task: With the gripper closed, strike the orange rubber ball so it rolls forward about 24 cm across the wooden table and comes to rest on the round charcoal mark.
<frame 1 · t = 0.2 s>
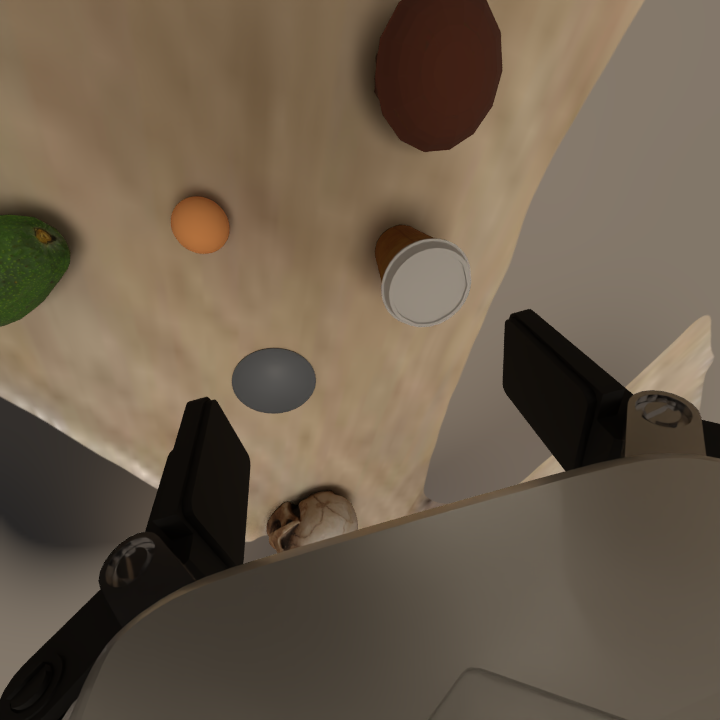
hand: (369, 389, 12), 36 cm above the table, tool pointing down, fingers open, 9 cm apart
muffin: (416, 77, 38), on the table
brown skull: (307, 510, 75), on the table
disposable coffee cup: (398, 249, 48), on the table
ball: (201, 225, 39), on the table
fruit: (18, 253, 40), on the table
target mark: (274, 382, 56), on the table
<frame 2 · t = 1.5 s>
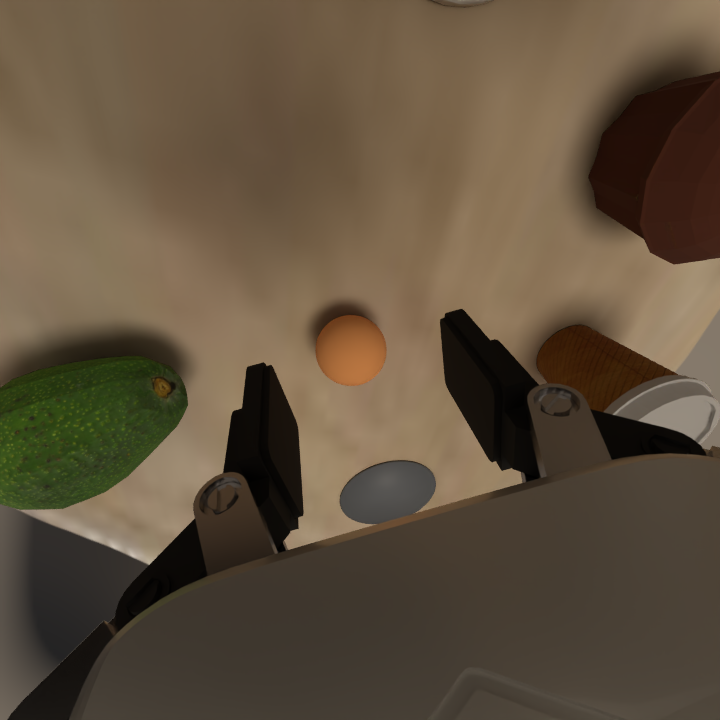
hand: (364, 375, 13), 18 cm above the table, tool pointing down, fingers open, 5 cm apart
muffin: (643, 156, 28), on the table
disposable coffee cup: (564, 350, 38), on the table
ball: (351, 350, 30), on the table
fruit: (109, 384, 31), on the table
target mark: (388, 493, 46), on the table
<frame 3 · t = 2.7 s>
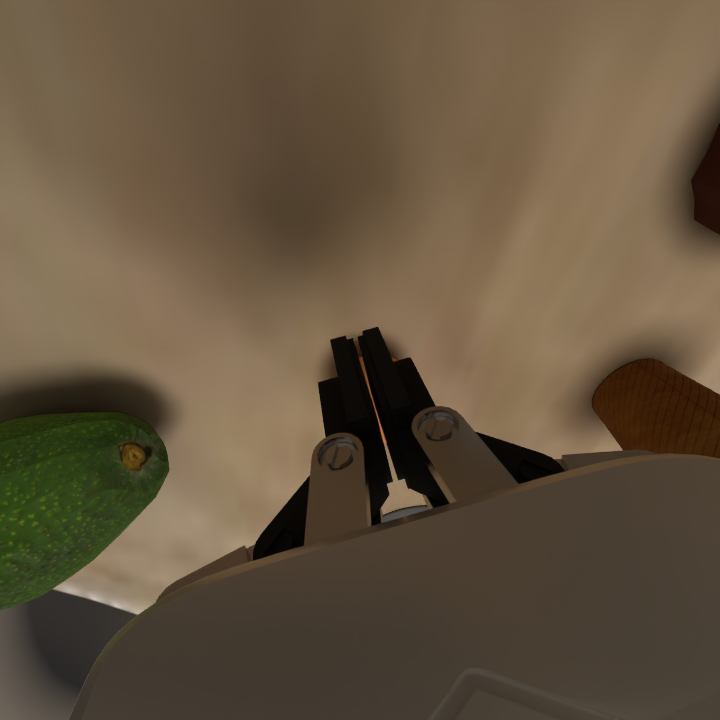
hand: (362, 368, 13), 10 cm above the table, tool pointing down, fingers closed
disposable coffee cup: (626, 386, 32), on the table
fruit: (75, 433, 25), on the table
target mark: (407, 538, 41), on the table
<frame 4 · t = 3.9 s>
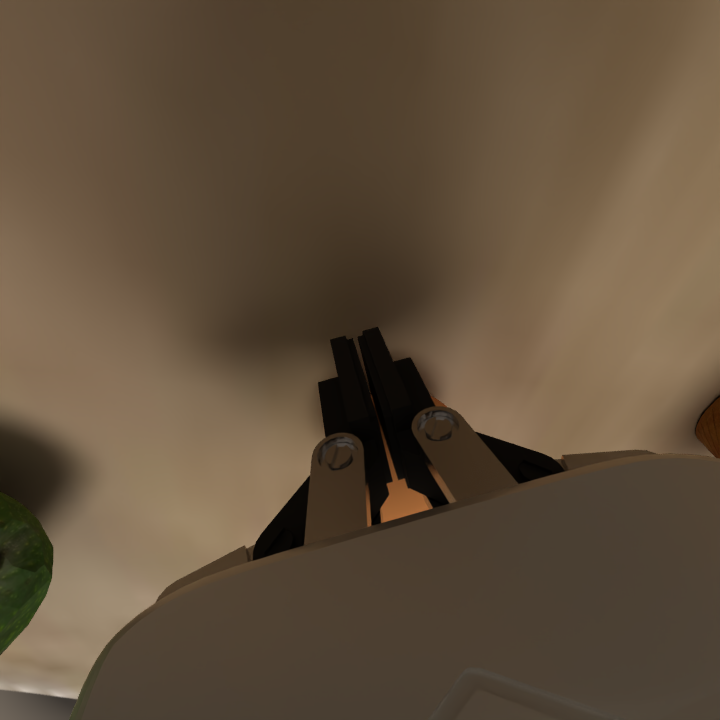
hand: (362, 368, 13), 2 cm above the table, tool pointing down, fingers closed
ball: (400, 458, 15), on the table
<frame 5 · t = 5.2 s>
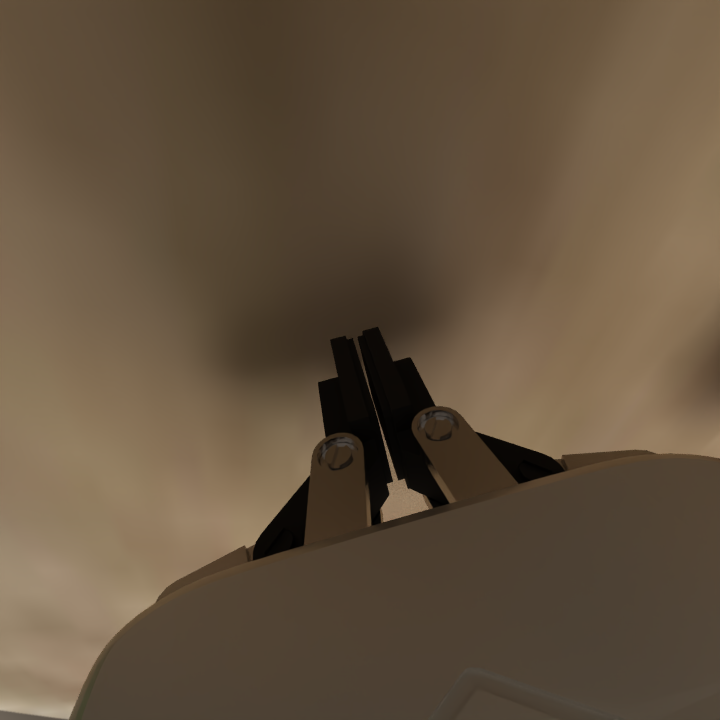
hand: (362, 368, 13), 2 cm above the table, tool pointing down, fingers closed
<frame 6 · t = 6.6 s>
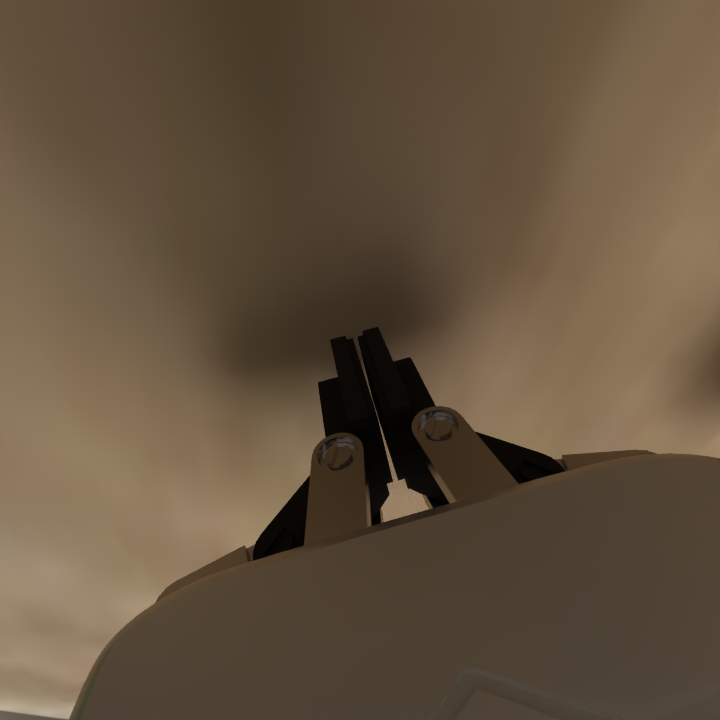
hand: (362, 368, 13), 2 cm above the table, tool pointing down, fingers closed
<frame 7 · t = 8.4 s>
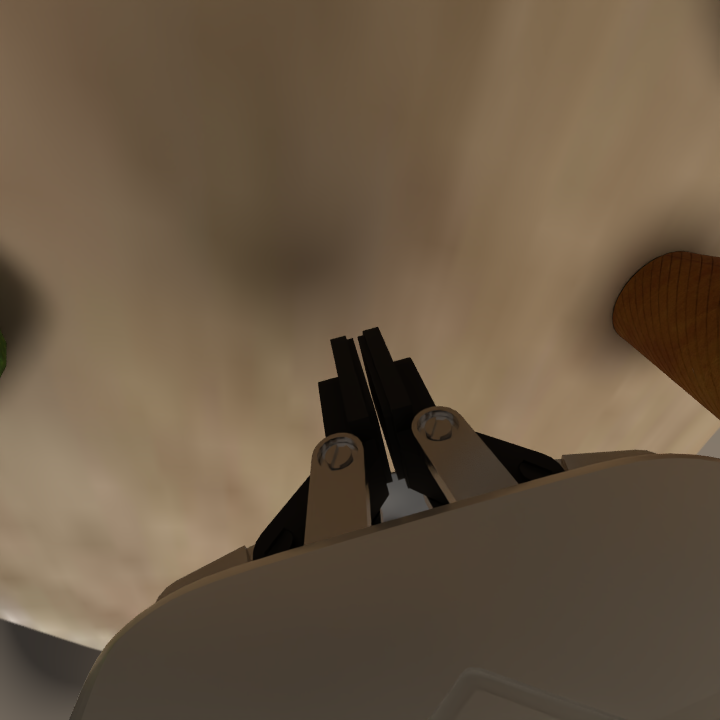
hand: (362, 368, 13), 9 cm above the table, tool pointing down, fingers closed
disposable coffee cup: (654, 297, 25), on the table
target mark: (389, 520, 32), on the table
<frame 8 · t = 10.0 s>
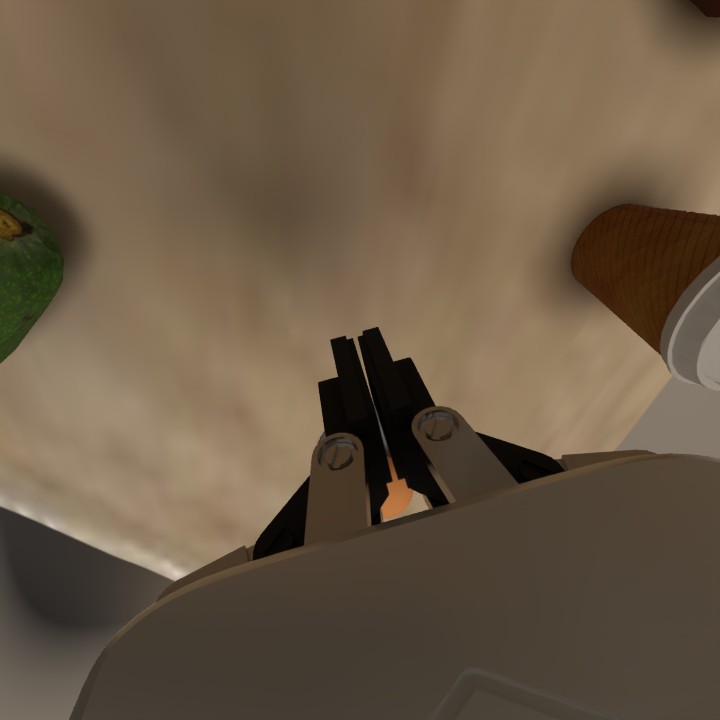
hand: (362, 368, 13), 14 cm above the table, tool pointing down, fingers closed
disposable coffee cup: (608, 246, 29), on the table
ball: (383, 486, 36), on the table
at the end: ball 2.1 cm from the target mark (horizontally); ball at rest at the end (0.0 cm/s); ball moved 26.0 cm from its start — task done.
